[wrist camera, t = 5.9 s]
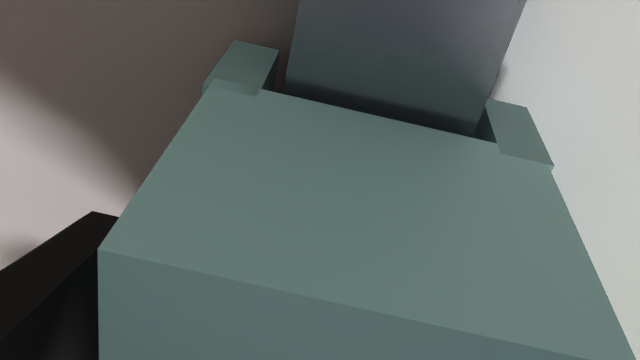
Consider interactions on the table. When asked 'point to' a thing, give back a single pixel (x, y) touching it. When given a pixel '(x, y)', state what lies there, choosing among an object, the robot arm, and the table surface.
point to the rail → (402, 57)
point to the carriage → (347, 239)
